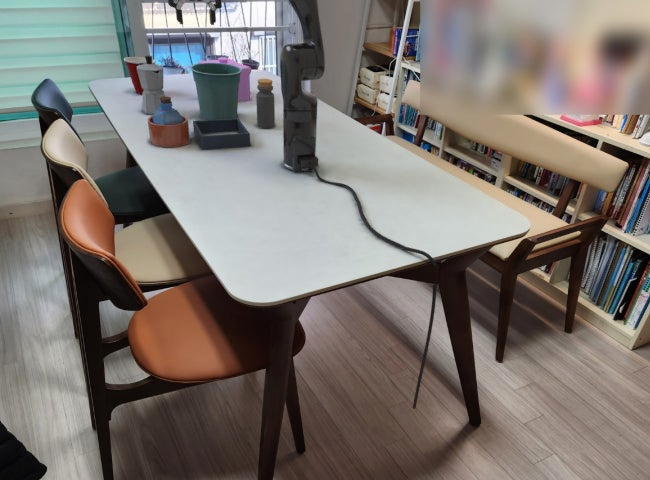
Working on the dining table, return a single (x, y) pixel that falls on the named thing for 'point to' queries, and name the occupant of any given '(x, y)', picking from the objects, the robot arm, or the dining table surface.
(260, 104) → the bottle
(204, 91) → the flower pot
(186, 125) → the round terracotta bowl
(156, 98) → the coffee maker
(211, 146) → the tray
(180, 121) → the perfume bottle
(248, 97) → the teapot
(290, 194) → the dining table surface
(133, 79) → the plastic cup
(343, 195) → the dining table surface
